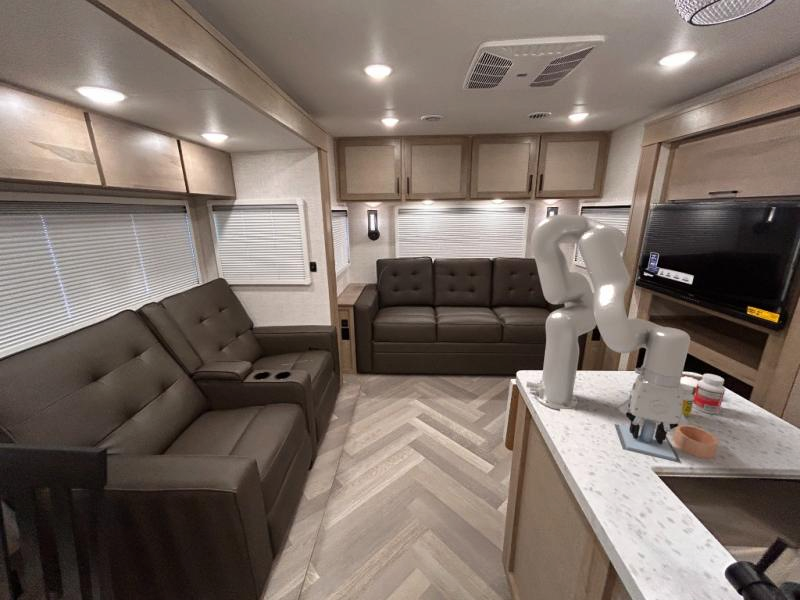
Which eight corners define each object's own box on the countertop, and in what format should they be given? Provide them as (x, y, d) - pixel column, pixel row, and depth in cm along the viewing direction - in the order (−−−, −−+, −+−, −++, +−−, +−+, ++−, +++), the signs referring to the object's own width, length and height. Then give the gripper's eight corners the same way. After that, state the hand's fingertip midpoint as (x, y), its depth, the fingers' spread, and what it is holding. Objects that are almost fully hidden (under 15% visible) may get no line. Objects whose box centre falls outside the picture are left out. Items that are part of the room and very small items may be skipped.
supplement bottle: (669, 407, 99) (676, 380, 97) (691, 415, 95) (699, 387, 92) (663, 412, 96) (669, 385, 94) (685, 422, 92) (693, 393, 90)
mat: (622, 451, 81) (622, 449, 80) (613, 426, 90) (614, 424, 90) (681, 466, 76) (681, 463, 76) (665, 437, 86) (665, 435, 85)
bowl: (679, 454, 79) (682, 440, 78) (667, 435, 87) (671, 421, 85) (720, 464, 76) (725, 449, 75) (705, 443, 83) (709, 429, 82)
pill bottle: (701, 402, 102) (709, 371, 99) (723, 413, 96) (733, 381, 93) (686, 404, 101) (694, 373, 98) (708, 415, 95) (717, 383, 92)
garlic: (674, 381, 115) (676, 372, 114) (698, 386, 112) (701, 376, 111) (679, 391, 108) (682, 381, 107) (705, 396, 105) (708, 386, 104)
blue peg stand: (627, 448, 80) (631, 428, 79) (618, 425, 89) (622, 407, 88) (675, 460, 76) (681, 439, 75) (662, 435, 85) (666, 416, 84)
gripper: (623, 376, 78) (611, 438, 83) (711, 390, 71) (692, 457, 76) (616, 363, 85) (605, 421, 89) (697, 376, 78) (680, 438, 83)
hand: (646, 437), depth 83 cm, fingers open, 4 cm apart
